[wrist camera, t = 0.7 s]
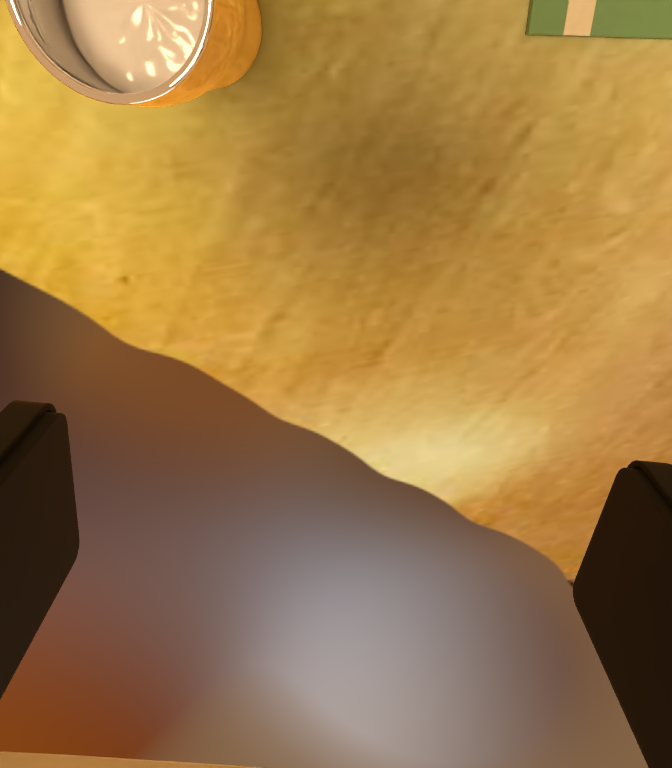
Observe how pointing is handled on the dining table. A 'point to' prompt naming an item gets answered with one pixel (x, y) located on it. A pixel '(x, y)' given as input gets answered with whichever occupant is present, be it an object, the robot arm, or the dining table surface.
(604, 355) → the dining table surface
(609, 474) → the dining table surface
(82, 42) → the beer glass
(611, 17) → the towel
